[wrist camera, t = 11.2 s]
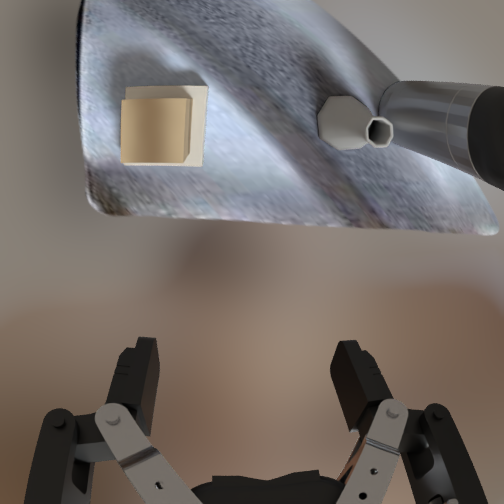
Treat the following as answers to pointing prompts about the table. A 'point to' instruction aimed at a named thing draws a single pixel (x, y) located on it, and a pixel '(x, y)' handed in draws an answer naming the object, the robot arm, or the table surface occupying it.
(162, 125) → the oak block
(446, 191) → the table surface
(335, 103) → the flask
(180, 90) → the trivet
